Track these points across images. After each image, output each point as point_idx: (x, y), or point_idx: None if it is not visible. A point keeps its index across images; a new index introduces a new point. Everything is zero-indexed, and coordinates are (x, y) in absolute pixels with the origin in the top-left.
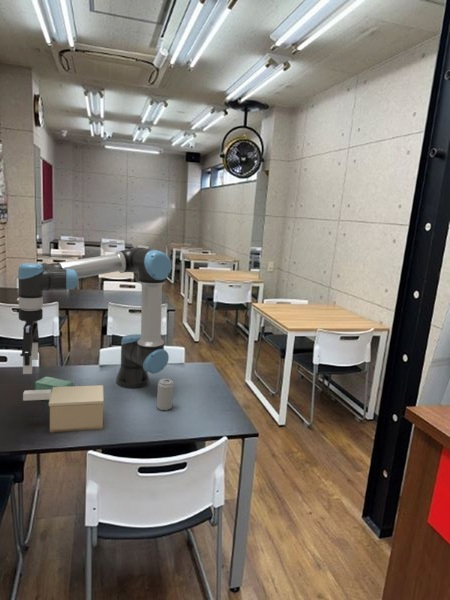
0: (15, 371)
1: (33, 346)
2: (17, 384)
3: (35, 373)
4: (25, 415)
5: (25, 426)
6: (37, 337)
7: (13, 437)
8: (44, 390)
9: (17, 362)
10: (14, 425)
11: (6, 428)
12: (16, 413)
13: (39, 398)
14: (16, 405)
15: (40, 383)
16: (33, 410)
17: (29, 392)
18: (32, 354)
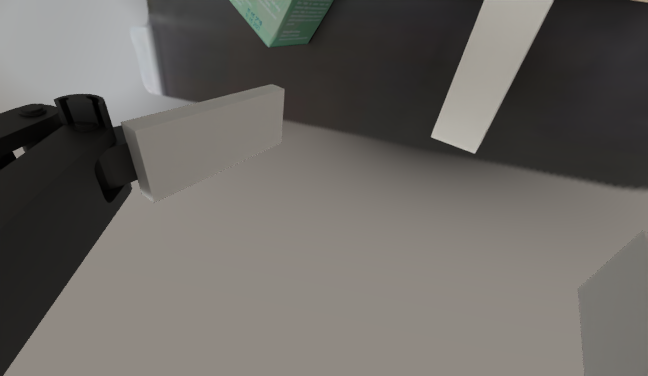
0: (175, 77)
1: (182, 157)
2: (230, 82)
3: (178, 27)
4: (415, 87)
5: (503, 100)
6: (41, 148)
7: (571, 153)
8: (485, 30)
9: (141, 67)
10: None
11: (480, 157)
12: (389, 111)
13: (521, 63)
14: (339, 103)
15: (279, 27)
16: (389, 57)
17: (470, 120)
18: (249, 138)
